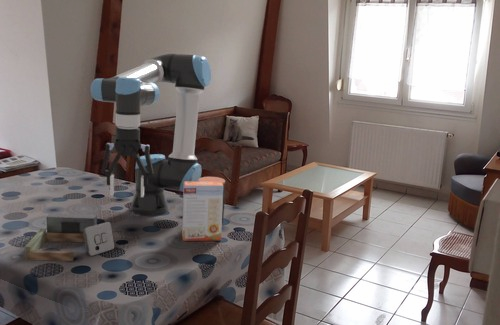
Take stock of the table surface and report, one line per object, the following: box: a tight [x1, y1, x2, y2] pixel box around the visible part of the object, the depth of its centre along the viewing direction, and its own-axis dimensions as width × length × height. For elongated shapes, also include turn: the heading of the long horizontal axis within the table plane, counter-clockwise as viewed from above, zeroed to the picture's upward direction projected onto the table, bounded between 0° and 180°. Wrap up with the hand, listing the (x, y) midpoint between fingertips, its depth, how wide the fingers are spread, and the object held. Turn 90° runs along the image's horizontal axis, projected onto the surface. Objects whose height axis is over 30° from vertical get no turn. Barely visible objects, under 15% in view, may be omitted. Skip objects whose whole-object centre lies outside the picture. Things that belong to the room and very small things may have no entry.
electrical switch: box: [83, 221, 115, 256], centre depth 170 cm, size 9×5×9 cm, turn 141°
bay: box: [24, 228, 85, 262], centre depth 169 cm, size 15×17×4 cm
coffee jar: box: [198, 176, 226, 225], centre depth 200 cm, size 11×11×18 cm
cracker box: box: [181, 181, 223, 242], centre depth 185 cm, size 14×6×21 cm, turn 100°
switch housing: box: [46, 212, 98, 234], centre depth 179 cm, size 16×5×8 cm, turn 95°
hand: (127, 195), depth 167 cm, fingers open, 9 cm apart
